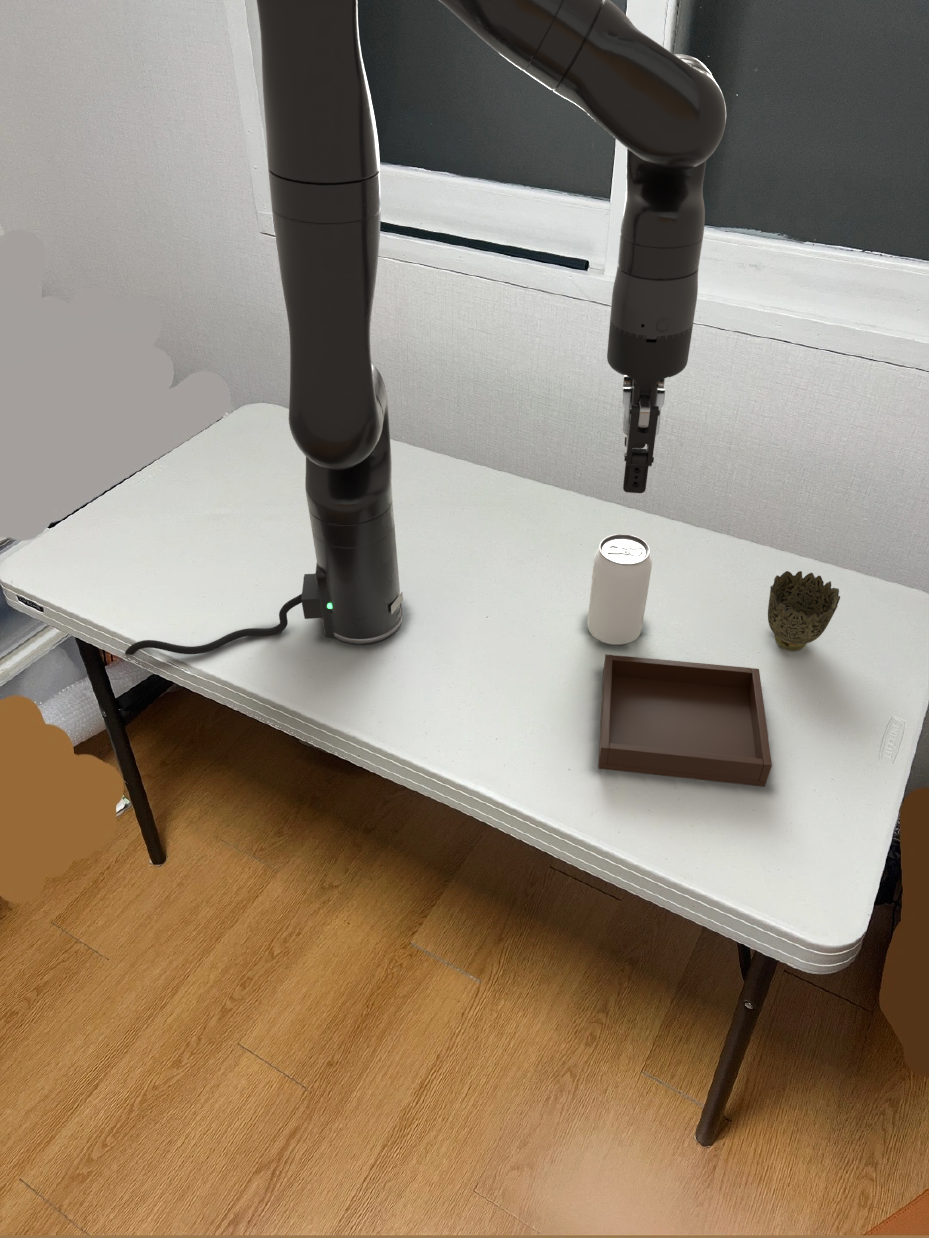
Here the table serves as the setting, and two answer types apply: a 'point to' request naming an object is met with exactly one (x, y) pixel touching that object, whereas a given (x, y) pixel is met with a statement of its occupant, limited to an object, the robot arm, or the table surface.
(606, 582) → the can
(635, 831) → the table surface
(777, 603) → the cup
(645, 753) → the tray
